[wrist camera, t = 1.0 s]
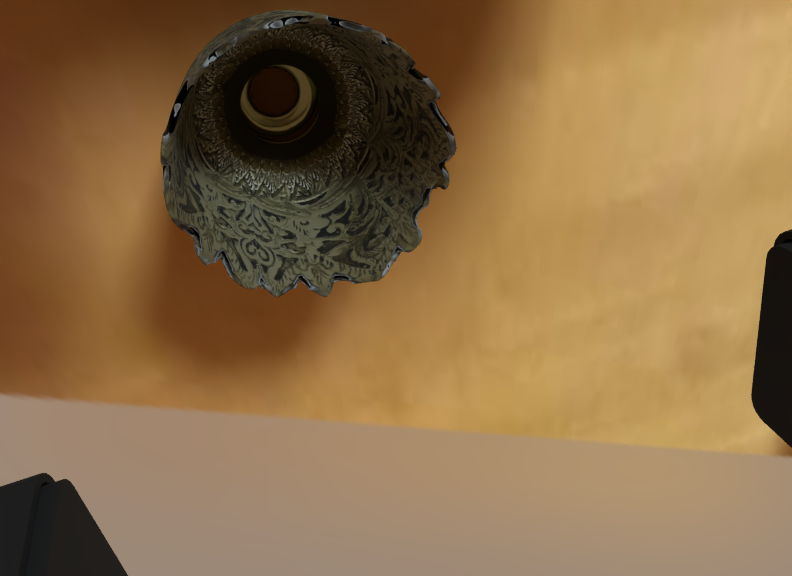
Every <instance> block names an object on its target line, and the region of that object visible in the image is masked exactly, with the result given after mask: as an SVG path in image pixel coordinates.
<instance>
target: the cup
mask: <svg viewBox="0 0 792 576" xmlns="http://www.w3.org/2000/svg"><path fill="white" fill-rule="evenodd" d="M414 66H415V62H414V61H413V60H412V59H411V56H410V55H409V53H408V52H407V51H406V50H404V49H403V48H402V47H400V46H399V45H397V44H395V43H394V42H393V41H392V40H391V39H389V38H385V35H384V34H383V33H381V32H379V31H377V30H375V29H372V28H370V27H367V26H364V25H361V24H358V23H355V22H351V21H348V20H343V19H339V18H336V17H332V16H328V15H324V14H319V13H315V12H309V11H300V10H278V11H271V12H265V13H261V14H257V15H254V16H251V17H249V18H246V19H243V20H241V21H239V22H237V23H235V24H234V25H232V26H230V27H228V28H227V29H225V30H224V31H223V32H221V33H220V34H218V35H217V36H216V37H215V38H214V39H213V40H212V41H210V42H209V43H208V44H207V46H206V47H205V48H204V49H203V50H202V51H201V52H200V53H199V55H198V56H197V58H196V59H195V61H194V62H193V64H192V65H191V67H190V69H189V71H188V72H187V74H186V76H185V78H184V80H183V82H182V85H181V87H180V90H179V92H178V95H177V98H176V100H175V103H174V106H173V108H172V111H171V114H170V118H169V122H168V125H167V128H166V130H165V132H164V133H163V136H162V142H161V164H162V165H163V189H164V197H165V202H166V206H167V210H168V212H169V215H170V217H171V219H172V221H173V222H174V223H175V224H176V225H177V226H178V227H179V228H180V229H181V230H184V231H186V232H187V233H188V234H190V235H191V236H193V239H194V242H195V249H196V252H197V255H198V256H199V258H200V259H201V261H202V263H204V264H206V265H209V264H211V263H215V262H216V261H218V259H219V258H221V259H222V262H223V264H224V266H225V268H226V270H227V272H228V273H229V275H230V277H231V278H232V279H233V280H234V281H235V282H236V283H237V284H239V285H240V286H242V287H244V288H247V289H249V288H250V289H256V288H257V287H258V286H261V288H262V289H267V290H268V291H269V292H270V293H271V294H272V295H273V296H275V297H280V296H281V295H283V294H285V293H286V292H287V291H288V290H290V289H295V288H296V286H297V284H298V282H299V281H301V282H302V283H303V284H304V285H306V286H307V287H308V288H309V290H311V291H314V292H316V293H318V294H319V295H321V296H324V297H327V296H328V295H329V293H330V291H331V289H332V286H333V283H334V282H335V281H349V282H351V283H353V284H357V283H364V282H371V281H378V280H380V279H381V278H383V277H384V276H385V275H386V273H387V272H388V270H389V269H390V267H391V265H392V263H393V262H394V261H396V259H397V257H398V256H399V254H400V253H401V252H403V251H404V252H408V253H409V252H411V251H412V250H414V249H415V248H416V247H417V246H418V245H419V244H420V243H421V239H422V232H421V230H420V229H419V228H418V223H417V216H418V214H419V213H420V211H421V210H422V209H423V208H425V207H427V206H428V204H429V200H430V194H431V190H432V189H436V188H437V187H440V188H442V189H447V187H448V185H449V174H448V171H447V169H446V167H445V166H444V164H445V163H446V162H447V161H448V160H449V159H450V158H451V157H452V156H453V155H454V154H455V152H456V142H455V137H454V134H453V131H452V130H451V128H450V126H449V124H448V122H447V121H446V119H445V118H444V117H443V115H442V114H441V112H440V110H439V108H438V106H437V104H436V102H435V100H439V99H440V96H441V93H440V91H439V90H438V89H437V87H436V86H435V85H434V83H433V82H432V81H431V80H430V78H429V77H427V76H425V75H423V74H421V73H420V72H419V71H417V70H416V69H415V68H414ZM268 68H279V69H282V70H285V71H286V72H288V73H289V74H290V75H291V76H292V77H293V78H294V80H295V82H296V84H297V88H298V96H297V100H296V102H295V104H294V106H293V107H292V108H291V109H290V110H289V111H288V112H286V113H284V114H282V115H277V116H271V115H266V114H264V113H262V112H260V111H259V110H258V109H257V108H256V107H255V106H254V104H253V103H252V100H251V97H250V86H251V83H252V81H253V79H254V77H255V76H256V75H257V74H258V73H259V72H261V71H263V70H265V69H268ZM218 255H219V256H218ZM217 256H218V257H217Z"/></svg>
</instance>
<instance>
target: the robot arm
mask: <svg viewBox="0 0 792 576" xmlns="http://www.w3.org/2000/svg"><path fill="white" fill-rule="evenodd" d="M751 396H752V403H753V406H754V409H755V411H756V413H757V414H758V416H759V417H760V418H761V419H762V421H763V422H764V423H765V424H767V425H768V426H769V427H770V428H771V429H772V430H773V431H774V432H775V433H776V434H777V435H778V436H780V437H781V438H782V439H783V440H784V441H785V442H786V443H787V444H788V445H789V446H790V447H792V229H791V230H788V231H785V232H783V233H781V234H780V235H779V236H778V237H777V239H776V240H775V243H774V247H772V248H771V249H770V250H769V252H768V254H767V258H766V266H765V275H764V284H763V293H762V302H761V312H760V321H759V330H758V339H757V348H756V357H755V366H754V375H753V385H752V394H751ZM0 576H128V575H127V573H126V572H125V570H124V568H123V567H122V565H121V563H120V562H119V560H118V558H117V557H116V555H115V554H114V552H113V550H112V548H111V547H110V545H109V544H108V542H107V540H106V539H105V537H104V535H103V534H102V532H101V530H100V529H99V527H98V525H97V524H96V522H95V520H94V519H93V517H92V516H91V514H90V512H89V511H88V509H87V507H86V506H85V504H84V502H83V501H82V499H81V498H80V496H79V494H78V492H77V491H76V489H75V487H74V486H73V485H72V483H71V482H70V481H69V480H67V479H63V480H60V481H57V482H55V481H54V480H53V478H52V477H51V476H50V475H48V474H47V473H41V474H38V475H35V476H32V477H29V478H26V479H23V480H20V481H16V482H13V483H10V484H7V485H4V486H1V487H0Z"/></svg>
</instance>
